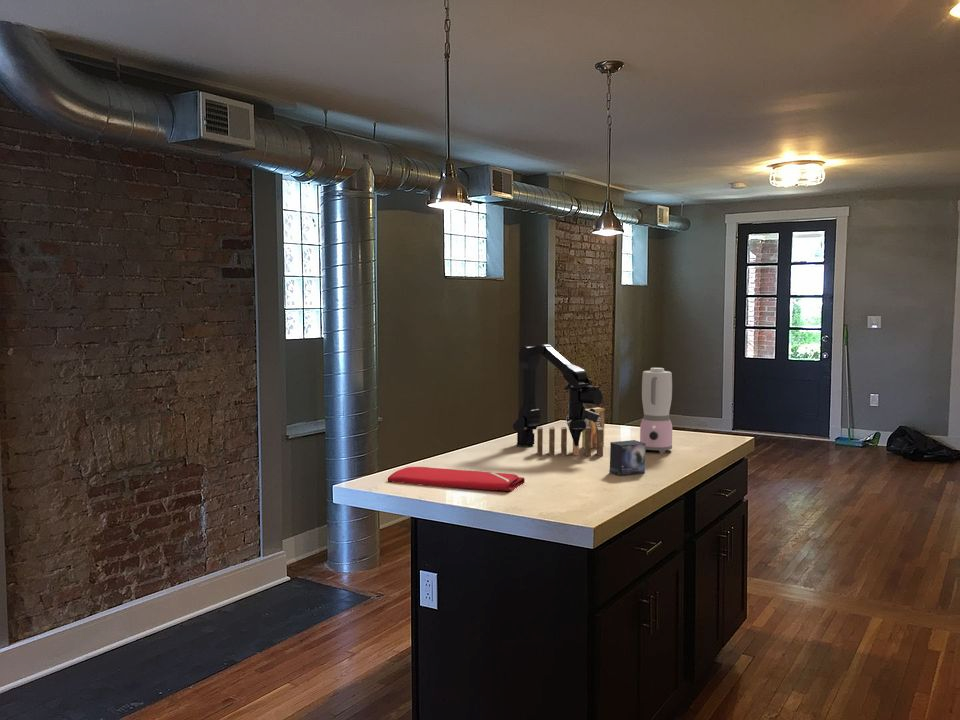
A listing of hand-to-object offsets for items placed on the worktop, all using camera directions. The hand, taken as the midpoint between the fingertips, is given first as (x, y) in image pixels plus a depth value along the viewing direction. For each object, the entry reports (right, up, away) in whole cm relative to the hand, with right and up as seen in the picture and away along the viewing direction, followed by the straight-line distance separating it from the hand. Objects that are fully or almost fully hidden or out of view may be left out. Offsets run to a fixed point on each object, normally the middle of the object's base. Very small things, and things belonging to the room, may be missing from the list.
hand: (575, 443), depth 297 cm
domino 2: (-9, -4, +1) cm, 10 cm away
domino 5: (+5, -4, 0) cm, 6 cm away
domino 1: (-13, -4, +1) cm, 14 cm away
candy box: (+9, -3, +16) cm, 18 cm away
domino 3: (-4, -4, 0) cm, 6 cm away
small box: (+13, -7, -32) cm, 36 cm away
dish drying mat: (-44, -8, -47) cm, 65 cm away
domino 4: (0, -4, 0) cm, 4 cm away
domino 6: (+9, -4, 0) cm, 10 cm away
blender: (+31, -4, +7) cm, 32 cm away
